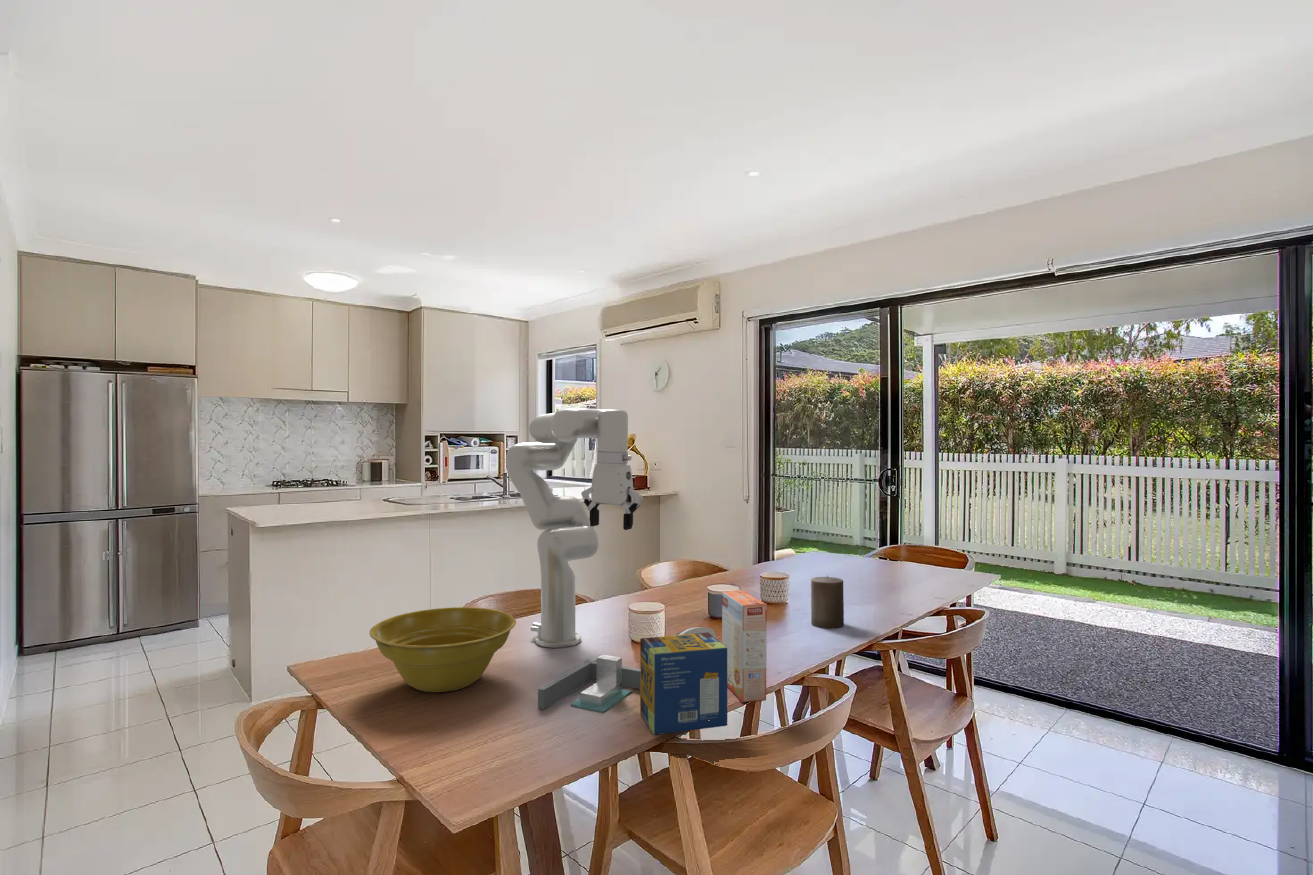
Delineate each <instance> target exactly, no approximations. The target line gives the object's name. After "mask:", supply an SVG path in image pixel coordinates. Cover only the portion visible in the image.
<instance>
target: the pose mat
mask: <svg viewBox="0 0 1313 875" xmlns="http://www.w3.org/2000/svg"><path fill="white" fill-rule="evenodd" d="M631 693H632V690H630V689H623V688H622V692H621V693H619V694H618V695H616V696H615V697H614V698H612V699H611V700H609V701H608V702H606V703H605V704H603V705H602V706H601V707H600V706H596V705H591V704H586V703H581V702H580V697H579V698H577V699H576V700H574V701H573V702H572V703H570V706H571V707H576V708H581V709H585V710H591V711H593V712H594V711H595V712H599V713H606V712H607V711H608V710H609V709H611V708H612V707H614V706H615V705H616V704H618V703H619V702H621V701H622V700H623V699H624V698H626V697H628V696H629V695H630V694H631ZM628 694H629V695H628ZM617 702H618V703H617Z"/></svg>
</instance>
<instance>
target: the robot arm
mask: <svg viewBox="0 0 1313 875" xmlns="http://www.w3.org/2000/svg"><path fill="white" fill-rule="evenodd" d="M628 427H629V415H628V412H627V411H626V410H623V409H611V408H609V409H608V408H607V409H604V408H603V409H602V408H585V407H584V408H583V407H582V408H581V407H580V408H578V407H576V408H574V407H573V408H565V409H564V408H563V409H559V410H556V411H555V412H552V413H551V412H550V413H543V414H540V415H537V416H536V417H534V418H533V419H532V420H531V422H530V423H529V426H528V429H529V430H528V432H529V435H530V436H531V438H532V439H533V440H534V441H535V442H532V441H530V442H527V441H526V442H521V443H520V442H519V443H516V444H513V445H512V446H510V447H509V448H508V450H507V452H506V456H505V464H506V465H505V467H506V472H507V474H508V477H509V480H510V482H512V484H513V485H514V487H515V489H516V491H517V492H518V493H519V495H520V497H521V499H522V501H523V504H524V506H525V509H526V511H527V514H528V516H529V518H530V521H531V523H532V525H533V526H534V527H535V528H536V529H537V530H539V531H542V532H541V533H540V534H539V535H538V538H537V545H536V546H537V553H538V557H539V565H540V567H539V568H540V622H533V623H532V624H531V626H530V632H536V633H537V635H536V637H535V640H534V642H535V644H536V645H538V646H540V647H544V648H551V649H552V648H553V649H554V648H555V649H556V648H567V647H571V646H572V647H573V646H575V645H577V644H579V643H580V642H581V641H582V635H581V634H580V633H579V632H576V576H575V573H574V571H573V569H572V568H571V566H570V564H569V563H568V562H571V561H576V560H584V559H589V558H591V557H594V556H595V555H596V554H597V553H598V550H599V545H600V544H599V538H598V534H597V532H596V528H595V527H598V526H599V525H600V509H598V508H599V507H600V505H611V506H621V507H622V509H623V511H624V512H625V513H623V524H622V525H623V526H622V528H623V530H624V531H629V530H632V529H633V525H634V513H635V512H636V511H637V510H638V509H639V507H640V506H641V503H642V501H643V500H644V497H643V495H641V494H640V493H639V492H637V491H636V490H634V481H633V472H632V467H631V465H630V464H628V463H629V461H632V455H629V453H628V443H629V442H628V437H629V436H628V434H629V432H628V431H629V430H628V429H629V428H628ZM584 438H585V439H596V440H597V442H596V443H597V448H596V449H597V450H596V452H597V453H596V454H597V455H596V463H595V464H594V468H593V472H592V480H591V486H590V487H588V488H587V489H584V490H583V491H581V497H582V500H583V503H584V504H585V506H586V507H587V510H588V511H589V514H588V512H587V510H586V508H585V506H584V504H583V503H582V502H581V500H579V499H578V498H577V497H574V496H569V495H568V496H567V495H564V496H556V495H554V494H553V493H552V490H551V488H550V485H549V484H548V482H547V481H546V480H545V479H543V477H541V476H540V474H537V473H536V471H539V472H540V471H556V470H560V469H561V468H562V467H563V466H565V465H564V464H565V463H566V462H567V460H568V457H569V456H570V455H571V453H572V450H573V449H574V447H575V445H576V443H577V441H578V440H579V439H584Z"/></svg>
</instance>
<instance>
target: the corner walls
mask: <svg viewBox="0 0 1313 875" xmlns="http://www.w3.org/2000/svg"><path fill="white" fill-rule="evenodd" d="M590 681H594V682H597V660H596V661H595V660H591V659H590V660H589V659H586V660H584V661H583V663H581V664H580V665H578V666H576V667H574V668H572V669H571V670H569V671H567V672H565V673H563V674H562V675H560V676H559V677H556V678H555V679H553V680H551V681H549V682H548V683H546V684H544V685H542V686H540V687H539V688H538V689H537V708H538V709H541V710H545V709H547V708H548V707H550V706H552V705H553V704H556V702H559V701H560V700H561V699H564V697H566V696H568V695H569V694H571V693H572V692H574V691H576V690H577V689H579V688H581V687H583V686H584V685H586V684H587V683H590ZM625 686H626V687H627V688H630V687H632V688H631V689H636V688H638V689H637V690H640V668H637V667H632V666H625V665H622V687H625Z"/></svg>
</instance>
